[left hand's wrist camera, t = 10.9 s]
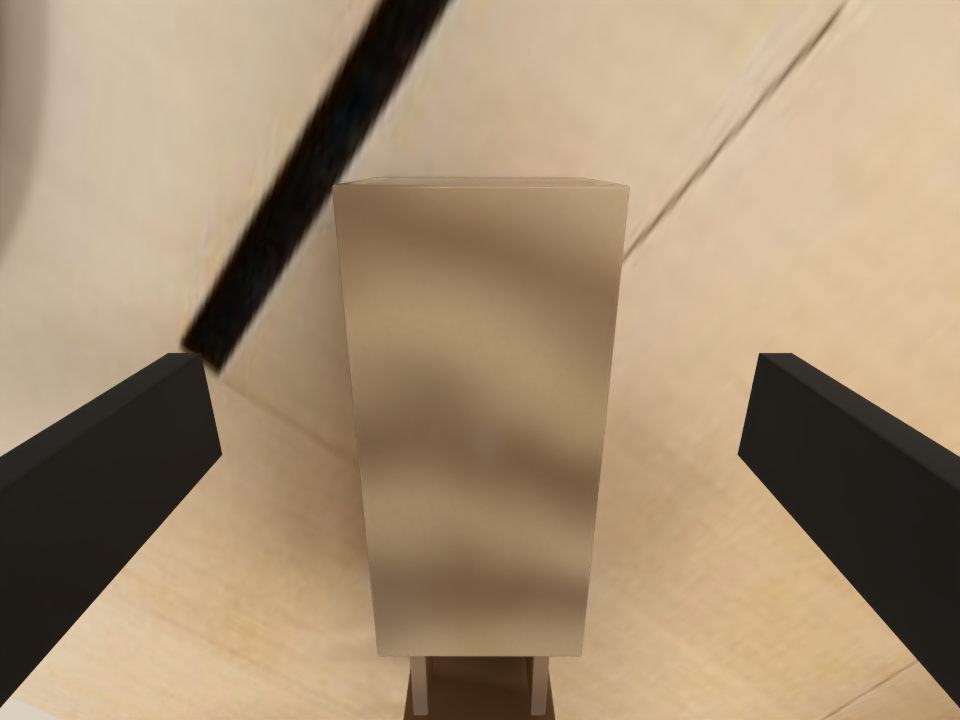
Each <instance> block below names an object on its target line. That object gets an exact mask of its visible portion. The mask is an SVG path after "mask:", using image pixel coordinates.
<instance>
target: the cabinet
mask: <svg viewBox="0 0 960 720" xmlns="http://www.w3.org/2000/svg"><path fill="white" fill-rule="evenodd" d="M629 189H630V188H629V186H627V185H622V184H616V183H611V182H605V181H599V180H593V179H587V178H518V177H376V178H371V179H365V180H359V181H353V182H347V183H341V184H336V185H333V186H332V191H333V202H334V212H335V222H336V232H337V243H338V253H339V263H340V273H341V283H342V294H343V304H344V314H345V324H346V335H347V345H348V355H349V365H350V376H351V386H352V396H353V406H354V416H355V427H356V437H357V447H358V457H359V468H360V478H361V488H362V498H363V509H364V519H365V529H366V539H367V549H368V560H369V570H370V580H371V590H372V601H373V611H374V621H375V631H376V642H377V652H378V656H581V655H582V645H583V636H584V626H585V616H586V606H587V597H588V587H589V577H590V568H591V558H592V548H593V539H594V529H595V519H596V509H597V500H598V490H599V480H600V471H601V461H602V451H603V442H604V432H605V422H606V412H607V403H608V393H609V383H610V374H611V364H612V354H613V344H614V335H615V325H616V315H617V306H618V296H619V286H620V277H621V267H622V257H623V247H624V238H625V228H626V218H627V209H628V199H629Z"/></svg>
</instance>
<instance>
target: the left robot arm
mask: <svg viewBox="0 0 960 720" xmlns="http://www.w3.org/2000/svg"><path fill="white" fill-rule="evenodd" d="M221 455H222V451H221V446H220V442H219V437H218V432H217V427H216V423H215V418H214V413H213V408H212V404H211V399H210V394H209V390H208V385H207V380H206V375H205V371H204V366H203V361H202V356H201V353H168V354H166V355H164V356H163V357H161V358H160V359H158V360H156V361H155V362H153V363H152V364H150V365H148V366H147V367H145V368H143V369H142V370H140V371H139V372H137V373H135V374H134V375H132V376H130V377H129V378H127V379H126V380H124V381H122V382H121V383H119V384H118V385H116V386H114V387H113V388H111V389H109V390H108V391H106V392H105V393H103V394H101V395H100V396H98V397H96V398H95V399H93V400H92V401H90V402H88V403H87V404H85V405H84V406H82V407H80V408H79V409H77V410H75V411H74V412H72V413H71V414H69V415H67V416H66V417H64V418H62V419H61V420H59V421H58V422H56V423H54V424H53V425H51V426H50V427H48V428H46V429H45V430H43V431H41V432H40V433H38V434H37V435H35V436H33V437H32V438H30V439H28V440H27V441H25V442H24V443H22V444H20V445H19V446H17V447H16V448H14V449H12V450H11V451H9V452H7V453H6V454H4V455H3V456H1V457H0V708H1V706H2V705H3V704H4V703H5V702H6V701H7V700H8V698H9V697H10V696H11V695H12V694H13V693H14V692H15V690H16V689H17V688H18V687H19V686H20V685H21V684H22V682H23V681H24V680H25V679H26V678H27V677H28V676H29V674H30V673H31V672H32V671H33V670H34V669H35V668H36V666H37V665H38V664H39V663H40V662H41V661H42V660H43V658H44V657H45V656H46V655H47V654H48V653H49V652H50V650H51V649H52V648H53V647H54V646H55V645H56V644H57V643H58V641H59V640H60V639H61V638H62V637H63V636H64V635H65V633H66V632H67V631H68V630H69V629H70V628H71V627H72V625H73V624H74V623H75V622H76V621H77V620H78V619H79V617H80V616H81V615H82V614H83V613H84V612H85V611H86V609H87V608H88V607H89V606H90V605H91V604H92V603H93V601H94V600H95V599H96V598H97V597H98V596H99V595H100V593H101V592H102V591H103V590H104V589H105V588H106V587H107V585H108V584H109V583H110V582H111V581H112V580H113V579H114V577H115V576H116V575H117V574H118V573H119V572H120V571H121V570H122V568H123V567H124V566H125V565H126V564H127V563H128V562H129V560H130V559H131V558H132V557H133V556H134V555H135V554H136V552H137V551H138V550H139V549H140V548H141V547H142V546H143V544H144V543H145V542H146V541H147V540H148V539H149V538H150V536H151V535H152V534H153V533H154V532H155V531H156V530H157V528H158V527H159V526H160V525H161V524H162V523H163V522H164V520H165V519H166V518H167V517H168V516H169V515H170V514H171V512H172V511H173V510H174V509H175V508H176V507H177V506H178V505H179V503H180V502H181V501H182V500H183V499H184V498H185V497H186V495H187V494H188V493H189V492H190V491H191V490H192V489H193V487H194V486H195V485H196V484H197V483H198V482H199V481H200V479H201V478H202V477H203V476H204V475H205V474H206V473H207V471H208V470H209V469H210V468H211V467H212V466H213V465H214V463H215V462H216V461H217V460H218V459H219V458H220V457H221ZM738 455H739V457H740V458H741V459H742V460H743V461H744V462H745V463H746V465H747V466H748V467H749V468H750V469H751V470H752V471H753V473H754V474H755V475H756V476H757V477H758V478H759V479H760V481H761V482H762V483H763V484H764V485H765V486H766V487H767V489H768V490H769V491H770V492H771V493H772V494H773V495H774V497H775V498H776V499H777V500H778V501H779V502H780V503H781V505H782V506H783V507H784V508H785V509H786V510H787V511H788V512H789V514H790V515H791V516H792V517H793V518H794V519H795V520H796V522H797V523H798V524H799V525H800V526H801V527H802V528H803V530H804V531H805V532H806V533H807V534H808V535H809V536H810V538H811V539H812V540H813V541H814V542H815V543H816V544H817V546H818V547H819V548H820V549H821V550H822V551H823V552H824V554H825V555H826V556H827V557H828V558H829V559H830V560H831V562H832V563H833V564H834V565H835V566H836V567H837V568H838V570H839V571H840V572H841V573H842V574H843V575H844V576H845V577H846V579H847V580H848V581H849V582H850V583H851V584H852V585H853V587H854V588H855V589H856V590H857V591H858V592H859V593H860V595H861V596H862V597H863V598H864V599H865V600H866V601H867V603H868V604H869V605H870V606H871V607H872V608H873V609H874V611H875V612H876V613H877V614H878V615H879V616H880V617H881V619H882V620H883V621H884V622H885V623H886V624H887V625H888V627H889V628H890V629H891V630H892V631H893V632H894V633H895V635H896V636H897V637H898V638H899V639H900V640H901V641H902V643H903V644H904V645H905V646H906V647H907V648H908V649H909V650H910V652H911V653H912V654H913V655H914V656H915V657H916V658H917V660H918V661H919V662H920V663H921V664H922V665H923V666H924V668H925V669H926V670H927V671H928V672H929V673H930V674H931V676H932V677H933V678H934V679H935V680H936V681H937V682H938V684H939V685H940V686H941V687H942V688H943V689H944V690H945V692H946V693H947V694H948V695H949V696H950V697H951V698H952V700H953V701H954V702H955V703H956V704H957V705H958V706H959V708H960V457H959V456H957V455H956V454H954V453H953V452H951V451H949V450H948V449H946V448H944V447H943V446H941V445H940V444H938V443H936V442H935V441H933V440H932V439H930V438H928V437H927V436H925V435H923V434H922V433H920V432H919V431H917V430H915V429H914V428H912V427H910V426H909V425H907V424H906V423H904V422H902V421H901V420H899V419H898V418H896V417H894V416H893V415H891V414H889V413H888V412H886V411H885V410H883V409H881V408H880V407H878V406H876V405H875V404H873V403H872V402H870V401H868V400H867V399H865V398H864V397H862V396H860V395H859V394H857V393H855V392H854V391H852V390H851V389H849V388H847V387H846V386H844V385H842V384H841V383H839V382H838V381H836V380H834V379H833V378H831V377H830V376H828V375H826V374H825V373H823V372H821V371H820V370H818V369H817V368H815V367H813V366H812V365H810V364H808V363H807V362H805V361H804V360H802V359H800V358H799V357H797V356H796V355H794V354H792V353H759V356H758V361H757V366H756V371H755V375H754V380H753V385H752V390H751V394H750V399H749V404H748V408H747V413H746V418H745V423H744V427H743V432H742V437H741V442H740V446H739V451H738Z"/></svg>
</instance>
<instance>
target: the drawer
mask: <svg viewBox="0 0 960 720" xmlns="http://www.w3.org/2000/svg"><path fill="white" fill-rule="evenodd" d="M410 663H411V668H410V675H409V683H408V690H407V697H406V705H405V712H404V719H403V720H555V713H554V706H553V698H552V691H551V684H550V676H549V669H548V665H549V656H410Z"/></svg>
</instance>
